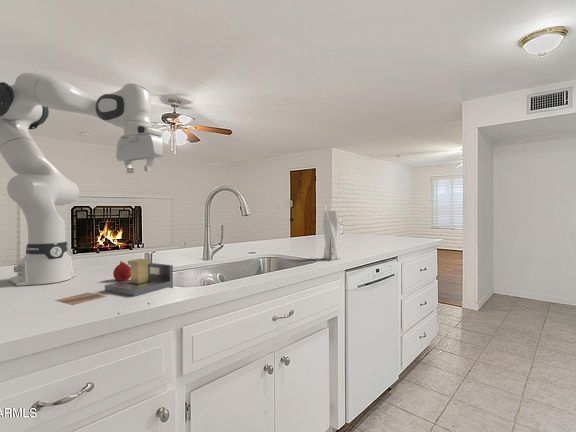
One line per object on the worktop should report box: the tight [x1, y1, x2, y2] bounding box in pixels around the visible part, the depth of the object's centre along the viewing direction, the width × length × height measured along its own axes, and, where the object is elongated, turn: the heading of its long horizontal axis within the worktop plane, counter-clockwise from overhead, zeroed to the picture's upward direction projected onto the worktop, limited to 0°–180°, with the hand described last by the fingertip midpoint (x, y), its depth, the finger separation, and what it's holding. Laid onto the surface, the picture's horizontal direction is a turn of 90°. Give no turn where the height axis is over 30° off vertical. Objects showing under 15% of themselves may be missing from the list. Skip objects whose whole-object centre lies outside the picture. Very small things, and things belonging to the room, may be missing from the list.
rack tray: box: [104, 262, 174, 297], centre depth 99 cm, size 14×14×8 cm
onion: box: [112, 260, 131, 282], centre depth 111 cm, size 6×6×8 cm
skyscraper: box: [320, 205, 341, 261], centre depth 163 cm, size 8×8×28 cm
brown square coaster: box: [54, 292, 107, 306], centre depth 88 cm, size 9×9×1 cm
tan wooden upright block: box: [127, 258, 151, 286], centre depth 99 cm, size 5×5×10 cm
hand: (139, 172), depth 109 cm, fingers open, 8 cm apart
